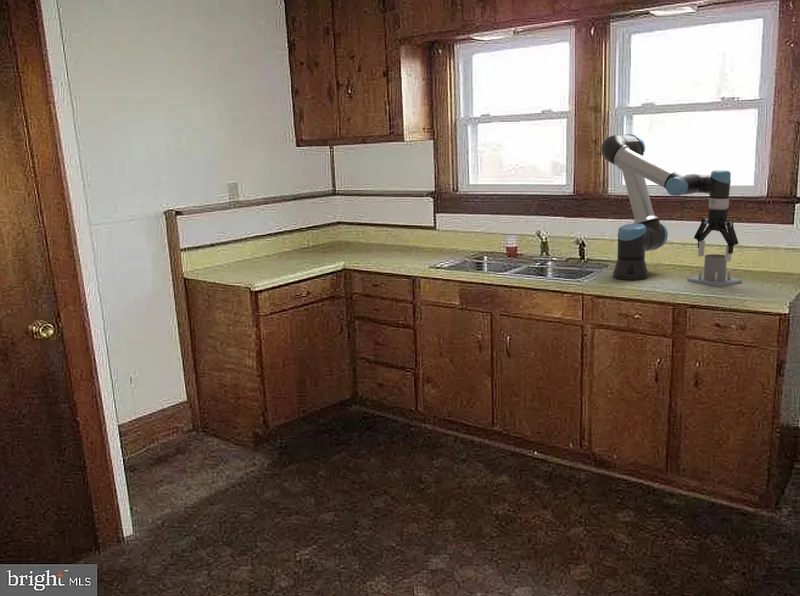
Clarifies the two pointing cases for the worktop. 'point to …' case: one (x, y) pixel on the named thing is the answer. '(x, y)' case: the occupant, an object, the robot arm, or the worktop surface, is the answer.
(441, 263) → the worktop surface
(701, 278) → the grey pegged base plate
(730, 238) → the robot arm
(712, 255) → the cup
